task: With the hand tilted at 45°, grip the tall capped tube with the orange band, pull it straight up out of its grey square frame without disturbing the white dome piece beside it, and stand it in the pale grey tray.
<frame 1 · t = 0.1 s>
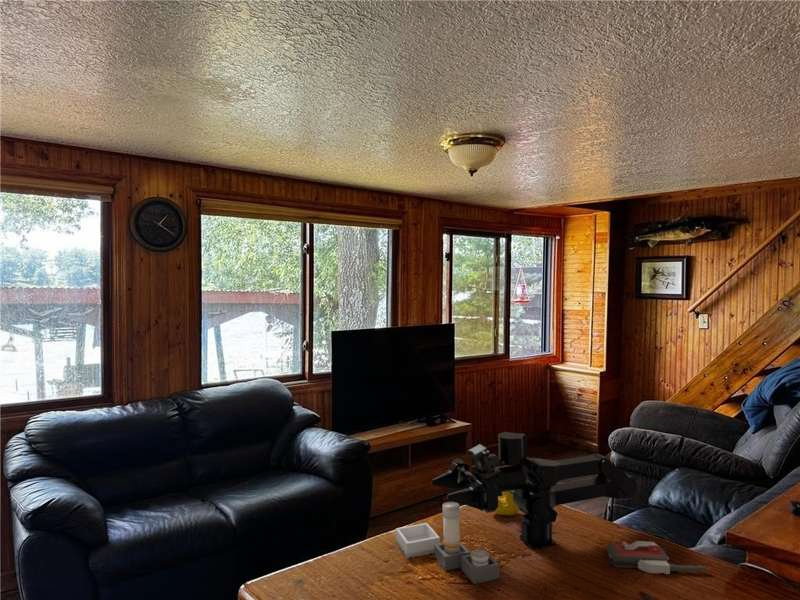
hand: (439, 489, 125), 17 cm above the table, tool horizontal, fingers open, 9 cm apart
tray: (417, 547, 132), on the table
duckling: (507, 514, 149), on the table
grey boxy piece: (480, 573, 120), on the table
grey square frame: (452, 561, 126), on the table
toy chainsaw: (653, 566, 123), on the table
white dome piece: (479, 563, 120), in the grey boxy piece
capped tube: (451, 533, 125), in the grey square frame
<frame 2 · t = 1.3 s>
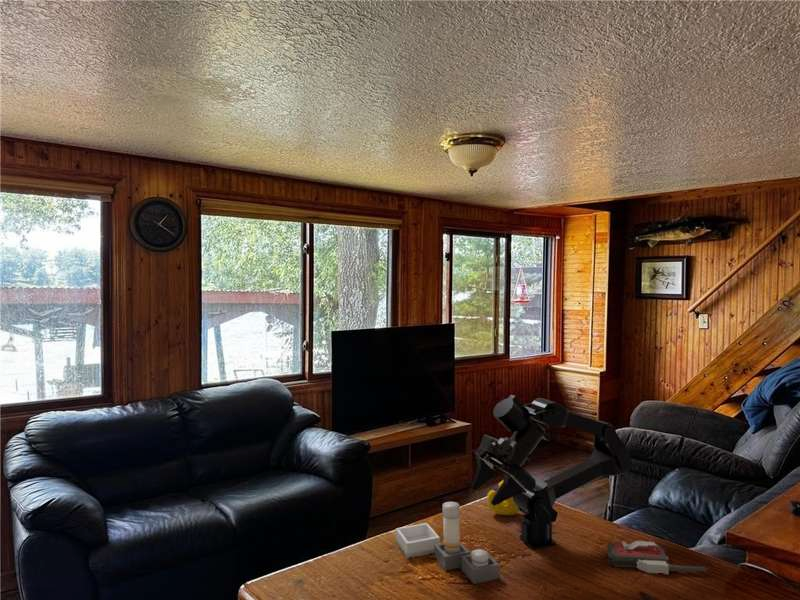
hand: (482, 496, 128), 14 cm above the table, tool tilted 45°, fingers open, 9 cm apart
nothing on the table moved.
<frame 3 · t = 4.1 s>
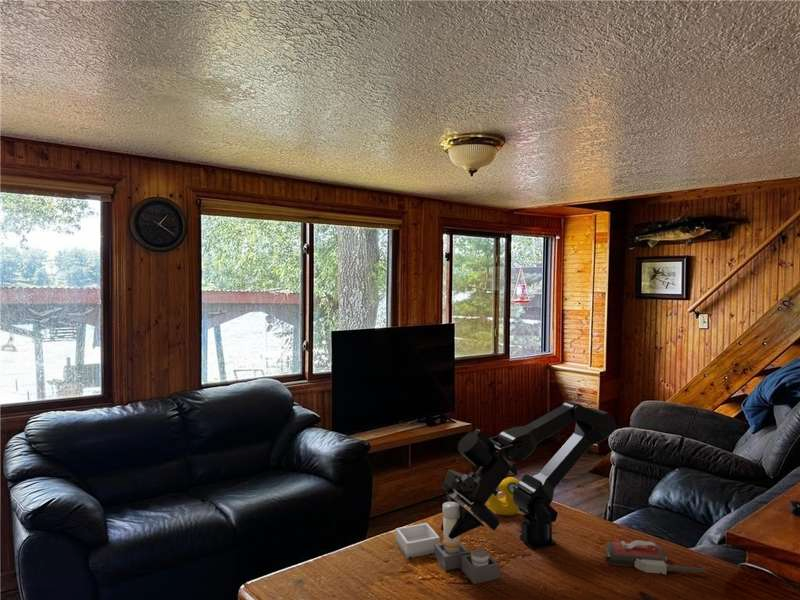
hand: (445, 534, 125), 7 cm above the table, tool tilted 45°, fingers closed on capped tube, 4 cm apart
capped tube: (451, 533, 125), in the grey square frame, touching gripper
everything else where it was.
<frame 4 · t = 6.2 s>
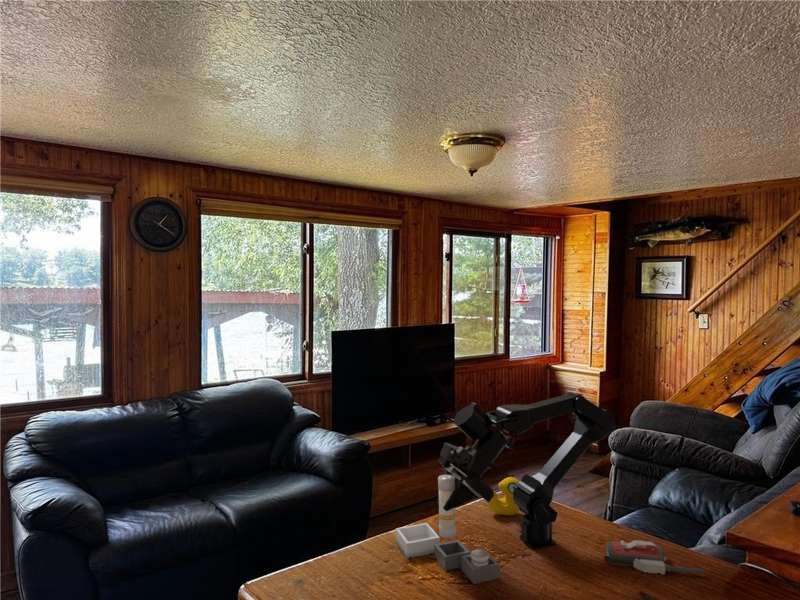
hand: (441, 506, 125), 13 cm above the table, tool tilted 45°, fingers closed on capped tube, 4 cm apart
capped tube: (447, 505, 125), point 13 cm above the table, touching gripper
everything else where it was.
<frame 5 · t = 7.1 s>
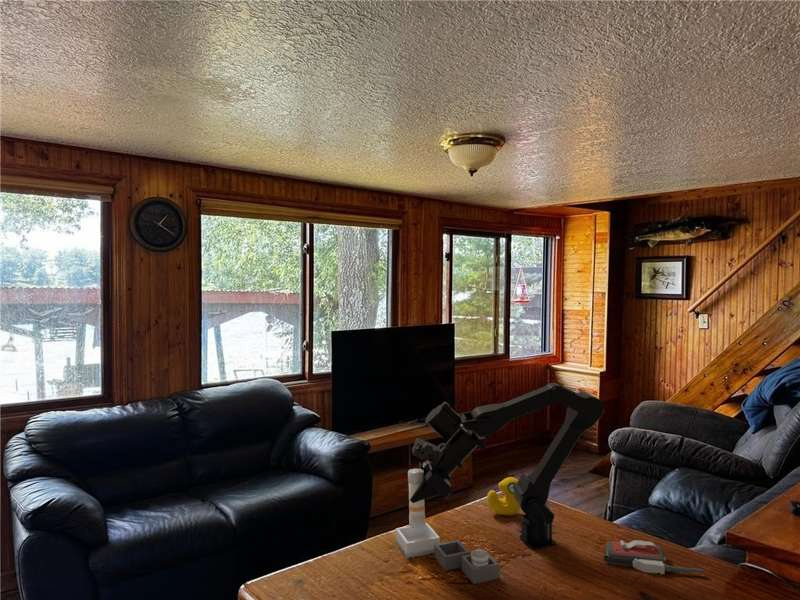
hand: (410, 498, 132), 12 cm above the table, tool tilted 45°, fingers closed on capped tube, 4 cm apart
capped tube: (416, 498, 132), point 12 cm above the table, touching gripper
everything else where it was.
when the fingers open (9 cm above the table, at t = 8.1 s): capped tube stays where it is, resting on tray.
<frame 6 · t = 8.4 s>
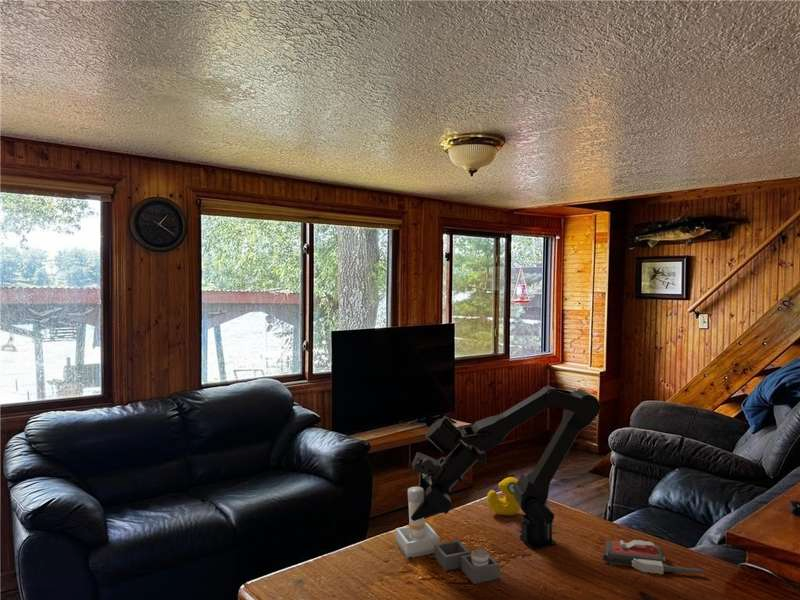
hand: (411, 512, 132), 9 cm above the table, tool tilted 45°, fingers open, 7 cm apart
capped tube: (416, 516, 132), in the tray, point 8 cm above the table
everything else where it was.
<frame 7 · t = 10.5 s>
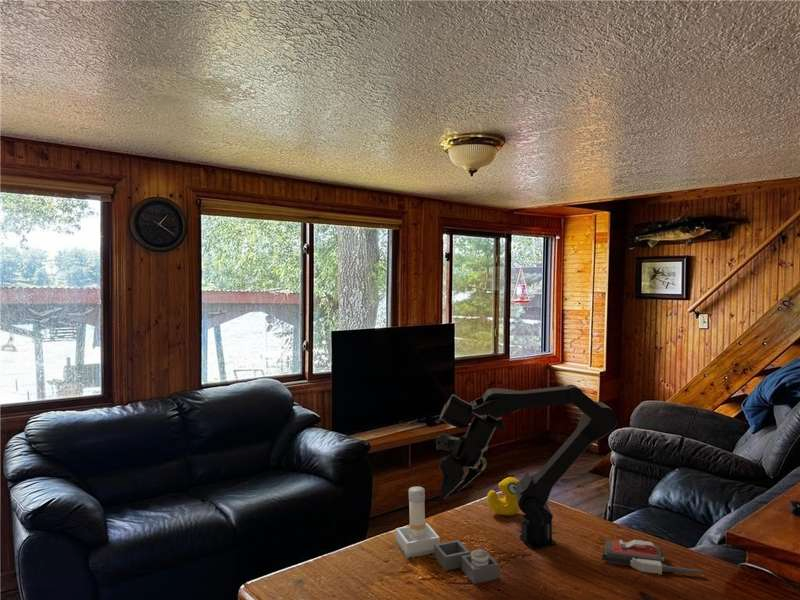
hand: (448, 494, 135), 12 cm above the table, tool tilted 25°, fingers open, 9 cm apart
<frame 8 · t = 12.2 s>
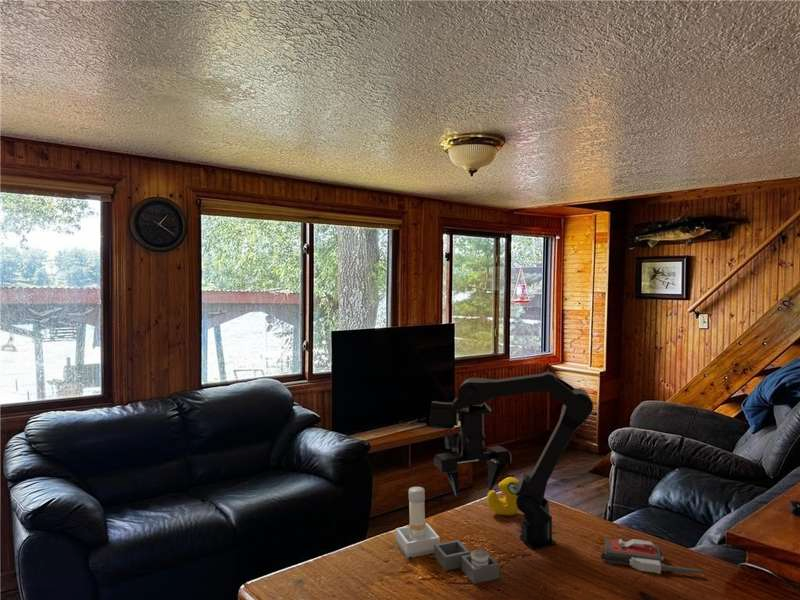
hand: (473, 492, 137), 11 cm above the table, tool pointing down, fingers open, 9 cm apart
at the end: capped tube 0.0 cm off-centre on the tray, point 7.5 cm above the tray's base; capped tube tilted 0°; white dome piece moved 0.0 cm from its start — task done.
